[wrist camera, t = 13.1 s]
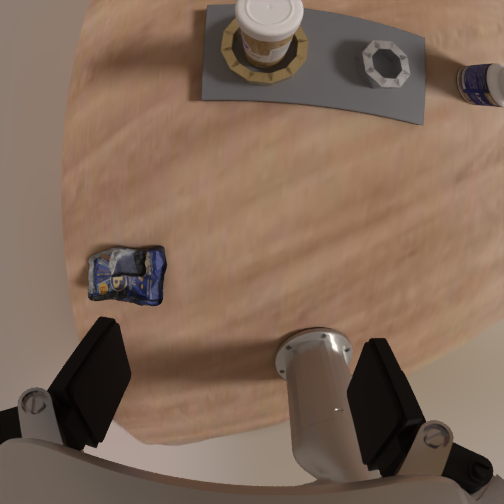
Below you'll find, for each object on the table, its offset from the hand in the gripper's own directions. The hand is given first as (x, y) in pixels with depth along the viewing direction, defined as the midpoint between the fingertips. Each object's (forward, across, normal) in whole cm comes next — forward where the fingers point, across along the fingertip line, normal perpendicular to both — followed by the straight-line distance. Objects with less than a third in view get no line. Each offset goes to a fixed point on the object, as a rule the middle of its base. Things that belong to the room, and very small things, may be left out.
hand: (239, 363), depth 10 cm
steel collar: (+24, -13, -18) cm, 33 cm away
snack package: (+27, +17, +10) cm, 33 cm away
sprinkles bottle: (+24, 0, -18) cm, 30 cm away
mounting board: (+26, -6, -18) cm, 32 cm away
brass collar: (+24, 0, -18) cm, 30 cm away
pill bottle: (+26, -28, -20) cm, 44 cm away
